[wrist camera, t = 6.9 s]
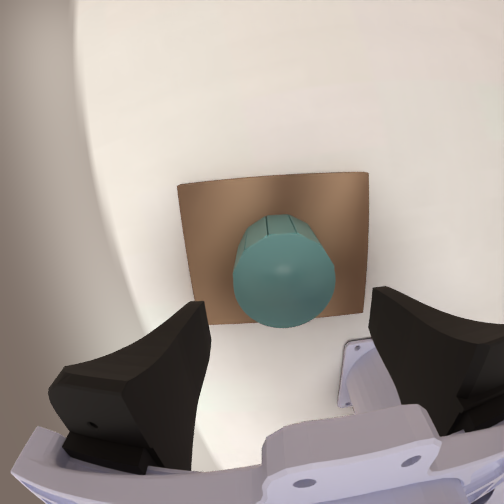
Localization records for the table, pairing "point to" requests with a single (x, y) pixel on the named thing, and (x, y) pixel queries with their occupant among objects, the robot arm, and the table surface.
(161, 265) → the table surface
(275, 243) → the cap
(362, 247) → the stud board
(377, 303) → the robot arm
